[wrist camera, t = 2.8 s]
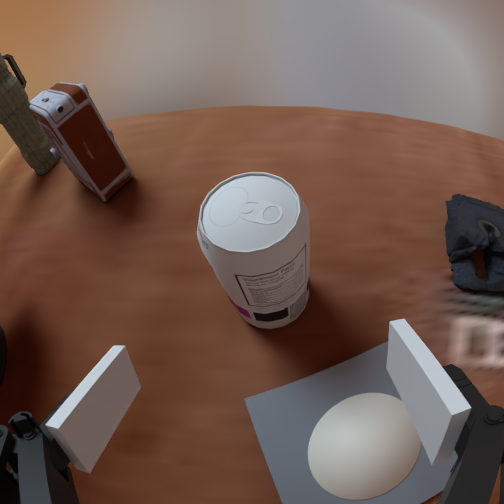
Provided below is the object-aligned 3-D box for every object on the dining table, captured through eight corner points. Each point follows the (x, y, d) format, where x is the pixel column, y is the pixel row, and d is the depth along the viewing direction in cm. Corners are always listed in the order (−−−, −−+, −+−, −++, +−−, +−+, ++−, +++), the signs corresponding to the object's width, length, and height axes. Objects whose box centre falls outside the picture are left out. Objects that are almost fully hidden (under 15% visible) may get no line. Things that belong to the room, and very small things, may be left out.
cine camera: (97, 147, 56) (55, 74, 39) (143, 174, 48) (90, 76, 31) (65, 176, 53) (16, 105, 36) (103, 211, 45) (36, 118, 28)
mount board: (302, 546, 18) (302, 552, 17) (247, 399, 28) (243, 398, 26) (463, 470, 19) (470, 472, 17) (407, 332, 28) (412, 327, 27)
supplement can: (223, 317, 33) (170, 244, 20) (250, 254, 36) (220, 160, 24) (295, 340, 30) (287, 275, 17) (317, 271, 34) (321, 175, 21)
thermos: (73, 144, 60) (7, 30, 30) (43, 180, 55) (-36, 64, 25) (55, 145, 63) (-7, 43, 33) (27, 179, 57) (-45, 76, 28)
